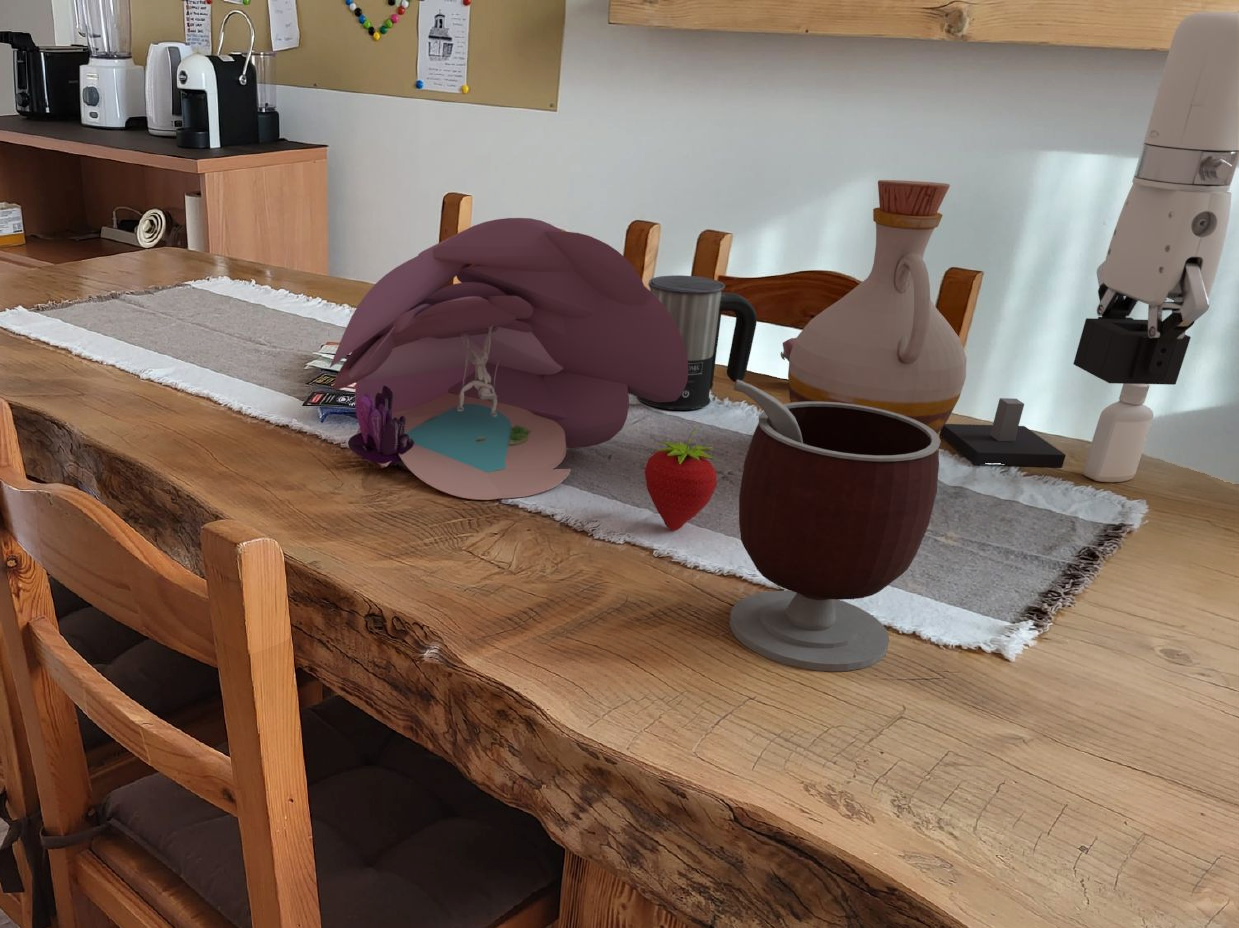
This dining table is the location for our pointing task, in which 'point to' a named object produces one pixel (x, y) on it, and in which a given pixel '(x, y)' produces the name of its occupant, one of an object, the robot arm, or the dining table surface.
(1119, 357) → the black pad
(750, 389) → the mate gourd
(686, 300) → the milk frother
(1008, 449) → the base pad
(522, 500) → the dining table surface
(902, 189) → the jug
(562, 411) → the purple rock cave
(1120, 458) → the eye dropper bottle
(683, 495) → the strawberry
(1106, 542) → the dining table surface
